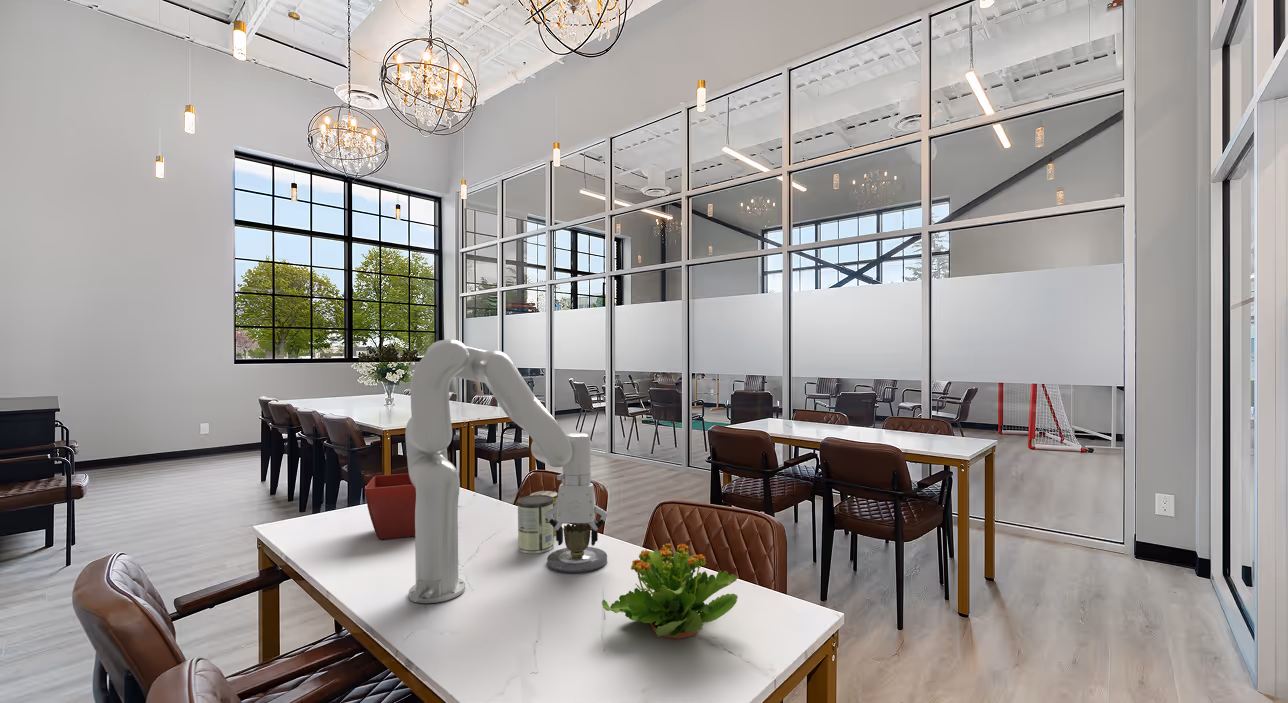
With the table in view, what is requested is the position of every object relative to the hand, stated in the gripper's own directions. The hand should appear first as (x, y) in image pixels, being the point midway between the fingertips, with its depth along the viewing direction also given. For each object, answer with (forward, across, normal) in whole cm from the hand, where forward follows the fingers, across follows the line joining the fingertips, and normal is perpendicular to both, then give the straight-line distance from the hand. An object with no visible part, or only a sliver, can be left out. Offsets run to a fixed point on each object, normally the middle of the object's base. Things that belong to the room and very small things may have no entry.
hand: (577, 543), depth 152 cm
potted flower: (+5, +27, -35) cm, 45 cm away
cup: (+3, 0, 0) cm, 3 cm away
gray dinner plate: (+5, 0, 0) cm, 5 cm away
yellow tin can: (+5, -14, +25) cm, 29 cm away
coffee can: (+5, -14, +11) cm, 18 cm away
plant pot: (+5, -60, +24) cm, 65 cm away
